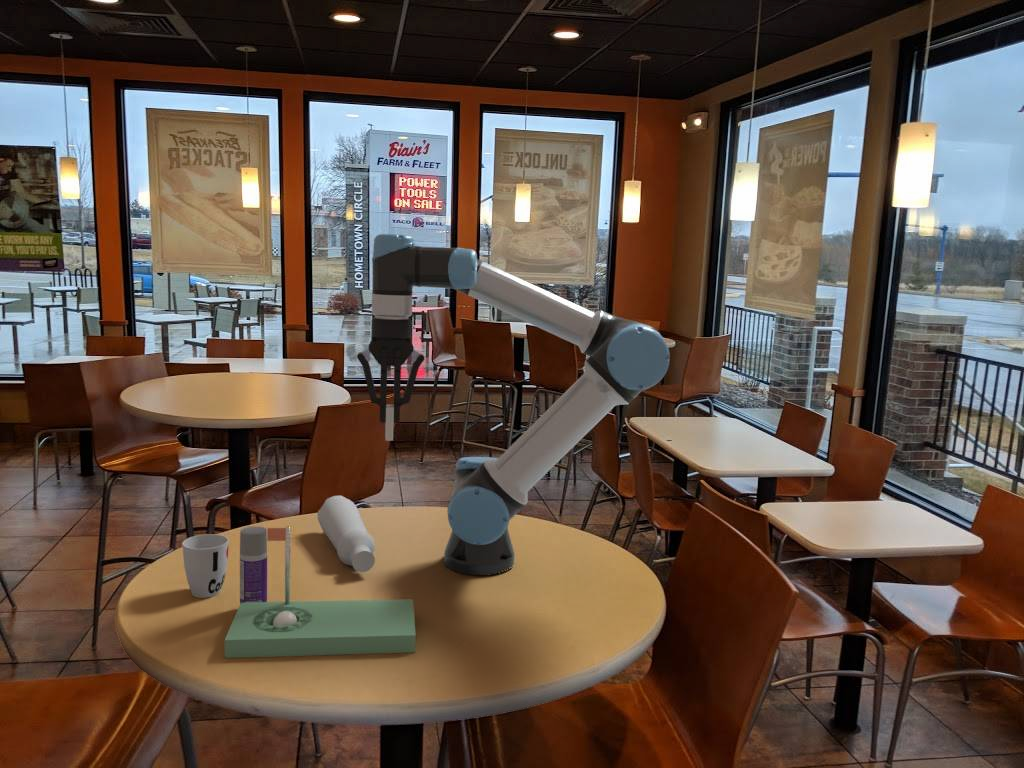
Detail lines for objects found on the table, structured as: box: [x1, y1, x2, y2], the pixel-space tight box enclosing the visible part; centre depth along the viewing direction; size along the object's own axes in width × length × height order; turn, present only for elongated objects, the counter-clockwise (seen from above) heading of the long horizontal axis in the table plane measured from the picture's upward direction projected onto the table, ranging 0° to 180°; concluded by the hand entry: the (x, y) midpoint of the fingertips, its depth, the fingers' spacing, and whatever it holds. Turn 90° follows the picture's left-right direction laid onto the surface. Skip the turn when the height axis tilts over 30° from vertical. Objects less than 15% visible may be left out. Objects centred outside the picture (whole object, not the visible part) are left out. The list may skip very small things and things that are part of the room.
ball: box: [273, 611, 297, 627], centre depth 134 cm, size 4×4×4 cm
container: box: [239, 525, 268, 604], centre depth 141 cm, size 5×5×15 cm
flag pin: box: [266, 525, 291, 605], centre depth 138 cm, size 4×1×14 cm, turn 99°
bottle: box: [317, 495, 376, 573], centre depth 172 cm, size 9×9×30 cm
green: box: [224, 598, 417, 659], centre depth 134 cm, size 30×14×3 cm, turn 99°
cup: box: [181, 533, 230, 599], centre depth 148 cm, size 8×8×10 cm
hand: (389, 438), depth 153 cm, fingers closed
